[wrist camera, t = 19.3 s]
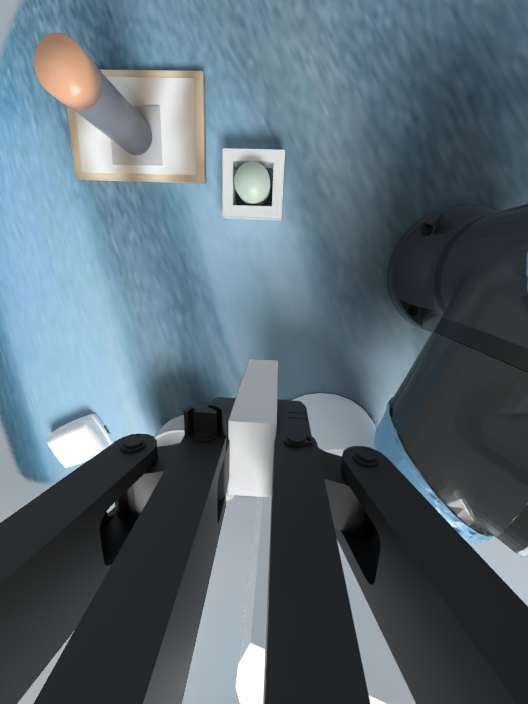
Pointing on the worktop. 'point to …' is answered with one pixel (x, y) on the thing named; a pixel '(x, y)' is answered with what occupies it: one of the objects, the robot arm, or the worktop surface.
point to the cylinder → (378, 662)
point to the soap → (79, 440)
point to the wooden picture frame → (166, 126)
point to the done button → (252, 183)
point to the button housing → (230, 209)
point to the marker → (89, 92)
